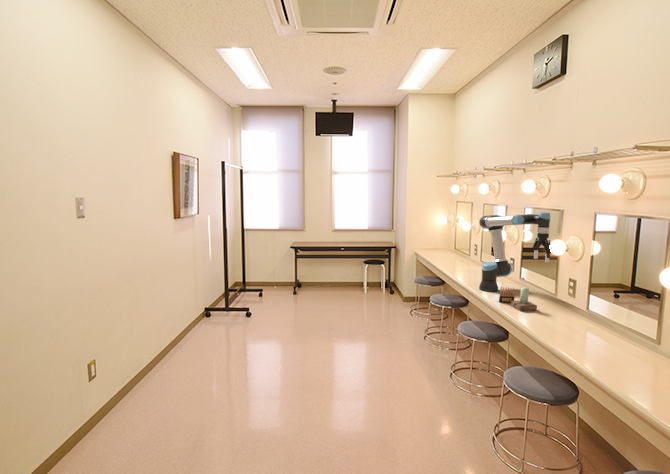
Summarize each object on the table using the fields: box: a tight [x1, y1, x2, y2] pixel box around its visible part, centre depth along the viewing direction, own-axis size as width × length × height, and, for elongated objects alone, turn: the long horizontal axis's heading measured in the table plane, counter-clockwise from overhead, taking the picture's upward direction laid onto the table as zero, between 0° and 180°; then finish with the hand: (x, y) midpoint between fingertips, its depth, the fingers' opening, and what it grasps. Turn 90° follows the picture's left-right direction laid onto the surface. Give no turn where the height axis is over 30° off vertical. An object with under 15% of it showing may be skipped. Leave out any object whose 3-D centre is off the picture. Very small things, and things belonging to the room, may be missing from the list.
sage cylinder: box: [519, 286, 530, 304], centre depth 258 cm, size 5×5×11 cm
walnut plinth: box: [510, 300, 538, 312], centre depth 259 cm, size 12×12×4 cm
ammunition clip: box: [498, 286, 515, 304], centre depth 272 cm, size 11×2×12 cm, turn 82°
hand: (541, 260), depth 275 cm, fingers open, 13 cm apart
